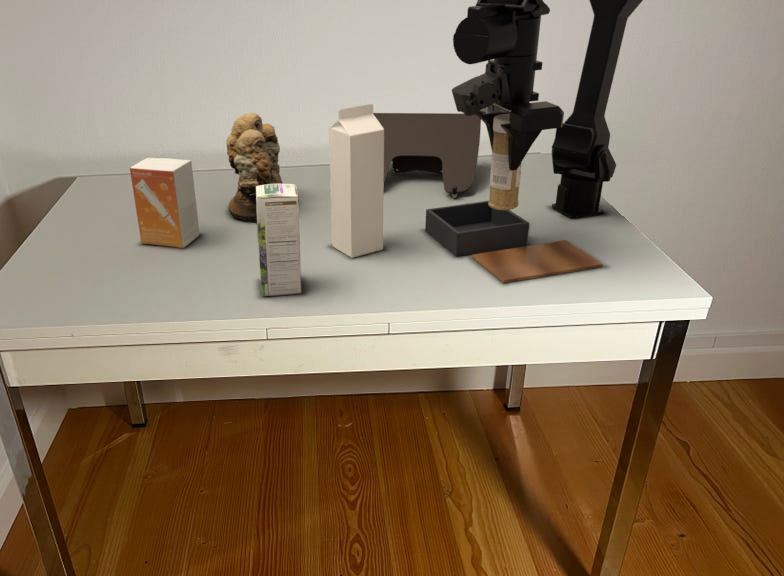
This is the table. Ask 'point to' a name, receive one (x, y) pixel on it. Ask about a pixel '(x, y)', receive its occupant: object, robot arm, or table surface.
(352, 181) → the milk
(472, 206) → the bin
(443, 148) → the laptop tray
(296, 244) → the syrup box
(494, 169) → the sprinkles bottle
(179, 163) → the small box
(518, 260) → the brown wooden board
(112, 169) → the table surface
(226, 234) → the table surface
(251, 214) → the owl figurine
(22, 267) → the table surface
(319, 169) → the table surface
